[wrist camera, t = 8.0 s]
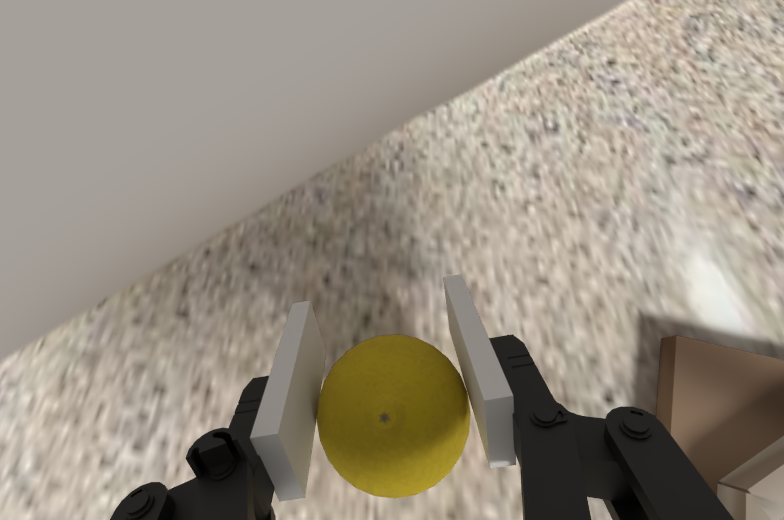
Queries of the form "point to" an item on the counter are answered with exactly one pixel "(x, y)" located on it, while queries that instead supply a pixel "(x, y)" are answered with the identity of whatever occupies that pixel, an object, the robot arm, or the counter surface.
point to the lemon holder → (727, 421)
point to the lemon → (393, 416)
